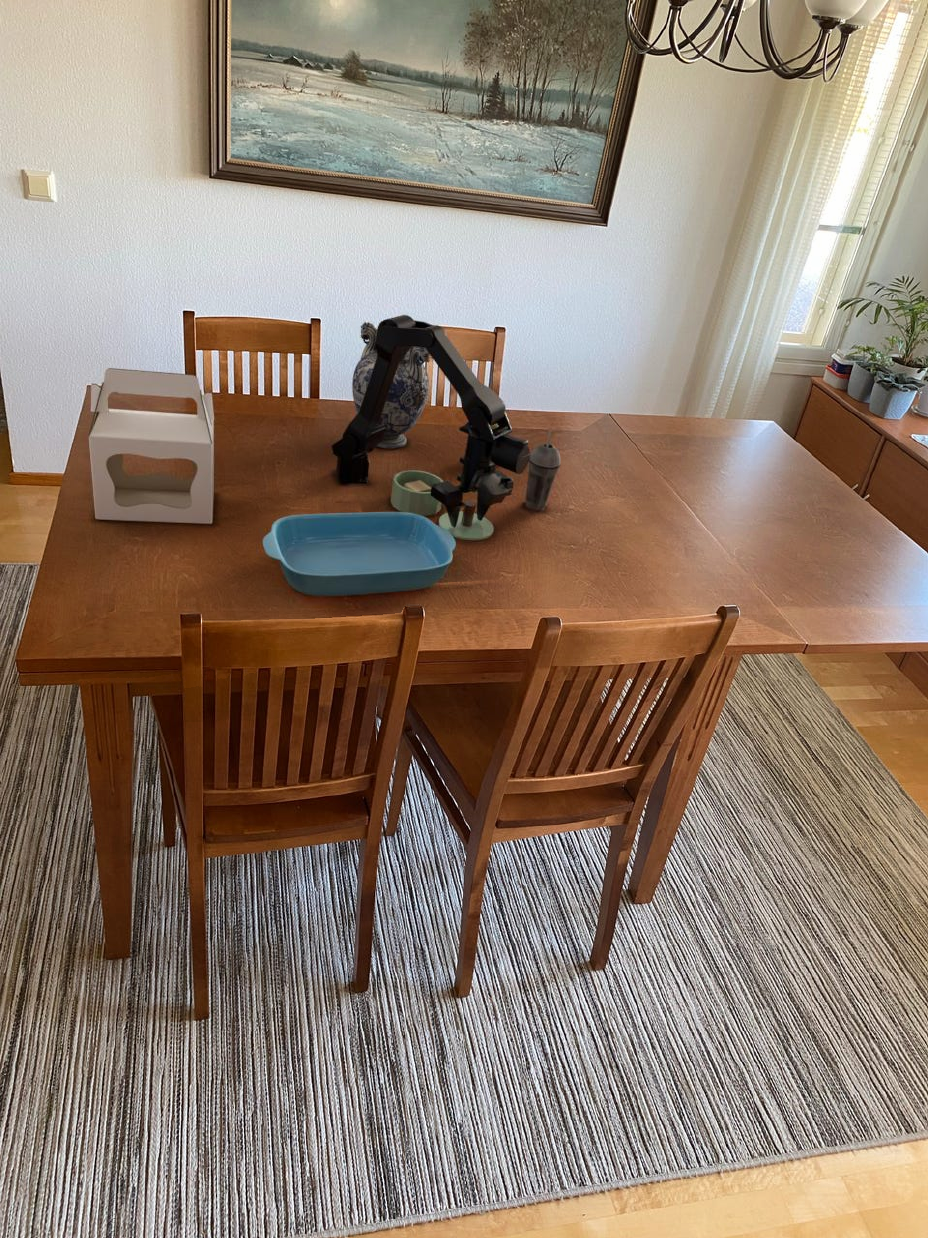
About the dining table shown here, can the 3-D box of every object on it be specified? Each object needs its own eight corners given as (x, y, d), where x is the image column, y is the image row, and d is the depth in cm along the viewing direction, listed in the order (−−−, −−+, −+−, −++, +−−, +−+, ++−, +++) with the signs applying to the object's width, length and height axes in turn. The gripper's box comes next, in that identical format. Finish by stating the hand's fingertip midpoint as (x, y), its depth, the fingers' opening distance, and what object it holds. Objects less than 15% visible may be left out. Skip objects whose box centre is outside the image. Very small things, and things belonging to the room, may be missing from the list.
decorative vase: (328, 434, 223) (336, 322, 208) (375, 418, 237) (387, 311, 221) (394, 464, 214) (408, 349, 199) (439, 446, 228) (456, 337, 213)
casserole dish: (273, 610, 157) (275, 575, 153) (252, 545, 173) (253, 513, 169) (467, 597, 170) (473, 565, 166) (430, 539, 187) (435, 508, 183)
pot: (398, 518, 192) (401, 493, 189) (384, 494, 200) (387, 470, 197) (447, 517, 196) (451, 492, 193) (431, 493, 205) (435, 469, 201)
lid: (448, 544, 186) (452, 517, 183) (431, 516, 195) (434, 490, 192) (500, 542, 191) (506, 516, 187) (481, 515, 200) (486, 490, 196)
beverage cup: (554, 506, 209) (573, 426, 198) (543, 518, 203) (562, 436, 192) (525, 497, 211) (543, 417, 200) (514, 507, 205) (531, 426, 194)
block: (413, 509, 195) (416, 491, 193) (402, 501, 198) (404, 483, 196) (429, 506, 198) (432, 488, 196) (417, 497, 201) (420, 480, 198)
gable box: (214, 494, 188) (215, 364, 173) (213, 524, 178) (213, 389, 162) (102, 488, 183) (92, 354, 167) (93, 519, 172) (82, 379, 157)
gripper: (469, 480, 173) (456, 549, 182) (537, 465, 184) (522, 531, 193) (434, 457, 180) (423, 525, 188) (501, 444, 191) (489, 509, 200)
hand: (466, 523), depth 192 cm, fingers open, 7 cm apart
